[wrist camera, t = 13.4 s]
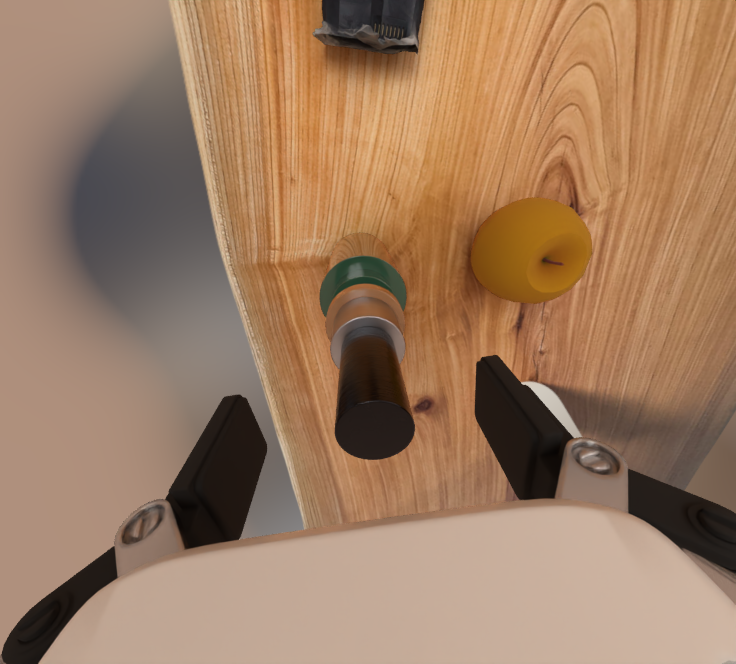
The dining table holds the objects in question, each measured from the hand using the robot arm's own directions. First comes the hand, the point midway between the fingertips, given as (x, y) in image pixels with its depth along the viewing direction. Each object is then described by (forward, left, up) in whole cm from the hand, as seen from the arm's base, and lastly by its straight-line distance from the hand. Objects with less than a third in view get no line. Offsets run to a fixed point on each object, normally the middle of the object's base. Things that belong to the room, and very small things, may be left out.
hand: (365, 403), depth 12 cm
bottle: (0, 0, -25) cm, 25 cm away
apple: (+14, +8, -25) cm, 30 cm away
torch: (0, 0, -8) cm, 8 cm away
